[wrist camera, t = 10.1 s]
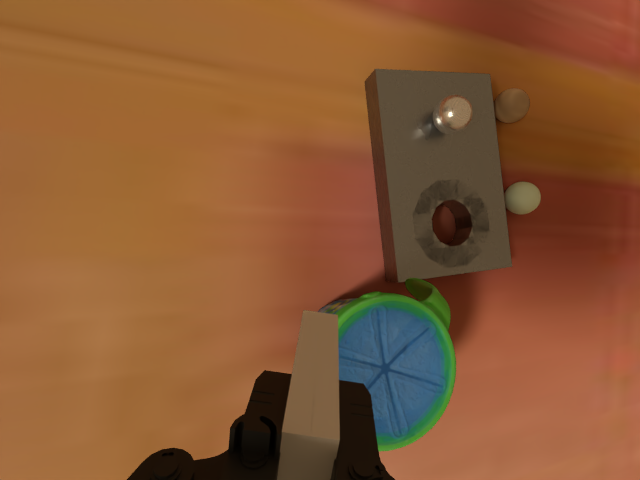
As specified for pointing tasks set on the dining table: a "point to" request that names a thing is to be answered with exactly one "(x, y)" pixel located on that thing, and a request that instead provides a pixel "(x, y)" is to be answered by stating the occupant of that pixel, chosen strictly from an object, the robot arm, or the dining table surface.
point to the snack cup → (398, 358)
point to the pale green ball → (522, 197)
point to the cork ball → (511, 105)
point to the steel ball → (452, 114)
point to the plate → (436, 175)
